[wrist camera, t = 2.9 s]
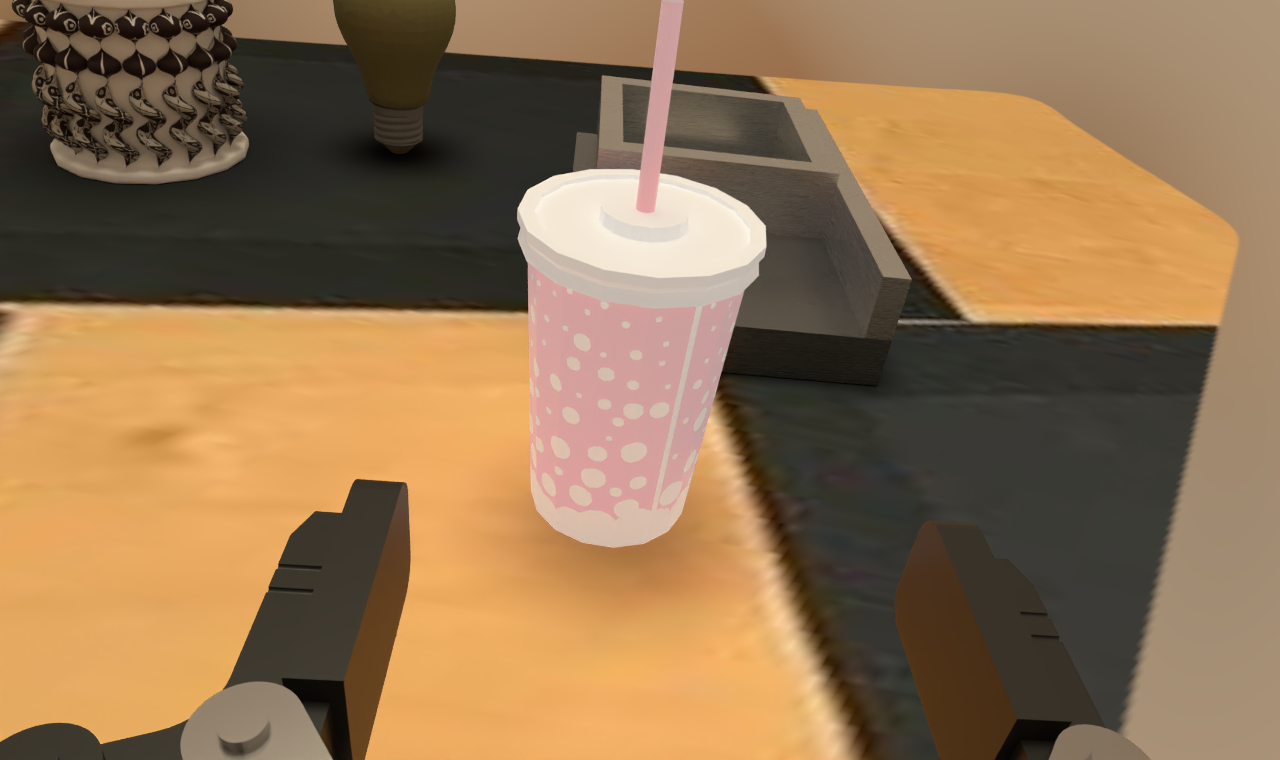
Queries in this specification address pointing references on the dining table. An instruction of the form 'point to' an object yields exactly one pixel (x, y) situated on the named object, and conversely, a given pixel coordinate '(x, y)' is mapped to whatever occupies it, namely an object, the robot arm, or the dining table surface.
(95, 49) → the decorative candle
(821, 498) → the dining table surface
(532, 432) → the beverage cup
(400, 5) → the light bulb
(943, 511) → the dining table surface
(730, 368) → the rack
